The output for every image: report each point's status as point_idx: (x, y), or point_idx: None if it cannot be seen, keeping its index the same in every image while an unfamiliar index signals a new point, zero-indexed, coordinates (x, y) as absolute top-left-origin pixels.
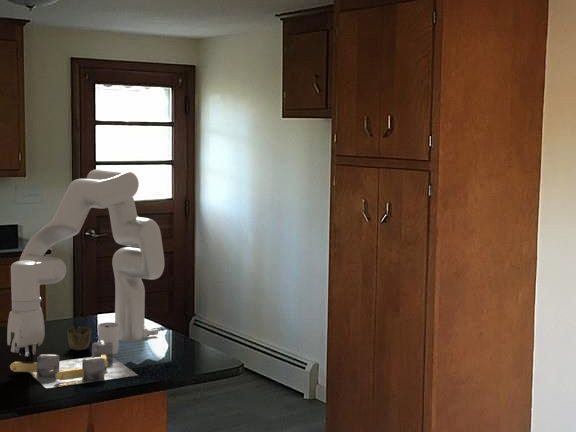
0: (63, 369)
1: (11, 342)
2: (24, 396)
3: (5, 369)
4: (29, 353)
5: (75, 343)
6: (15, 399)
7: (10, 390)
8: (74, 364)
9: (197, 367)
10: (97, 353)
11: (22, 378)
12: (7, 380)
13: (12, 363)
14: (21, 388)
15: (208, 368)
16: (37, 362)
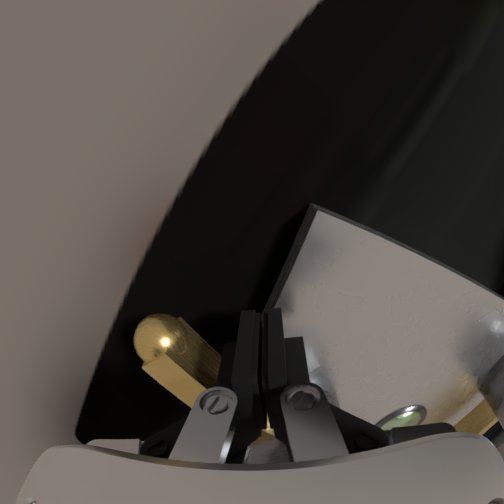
0: (384, 398)
1: (85, 463)
2: (131, 436)
3: (252, 90)
4: (274, 427)
5: None
6: (104, 431)
7: (110, 387)
8: (456, 365)
9: (496, 436)
10: (497, 410)
11: (218, 319)
12: (142, 292)
13: (141, 355)
14: (149, 400)
15: (492, 443)
16: None
